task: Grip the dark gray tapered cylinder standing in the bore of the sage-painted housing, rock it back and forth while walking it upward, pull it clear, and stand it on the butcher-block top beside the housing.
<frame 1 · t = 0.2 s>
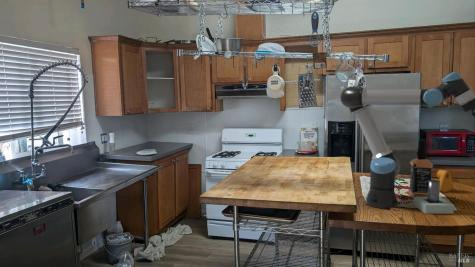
housing: (432, 210, 175), on the table
whiskey bottle: (419, 198, 196), on the table
bracket: (440, 190, 211), on the table
dark gray tapered cylinder: (432, 208, 175), point 1 cm above the table, touching housing
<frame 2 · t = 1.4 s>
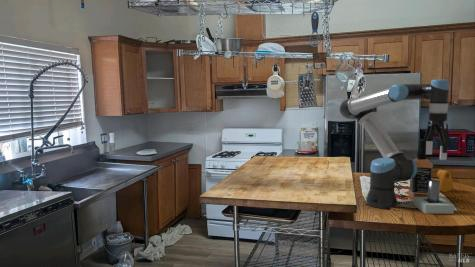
hand: (435, 156, 172), 27 cm above the table, tool pointing down, fingers open, 13 cm apart
nothing on the table moved.
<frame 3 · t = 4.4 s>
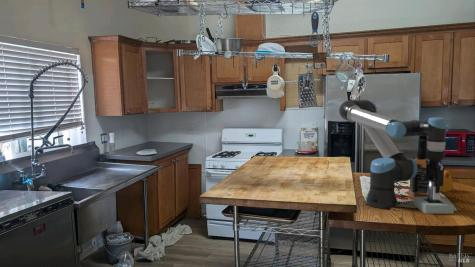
hand: (433, 197, 174), 7 cm above the table, tool pointing down, fingers closed on dark gray tapered cylinder, 5 cm apart
dark gray tapered cylinder: (432, 208, 175), point 1 cm above the table, touching gripper, housing
everything else where it was.
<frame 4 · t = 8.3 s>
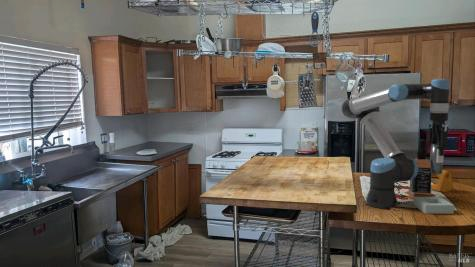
hand: (436, 161, 171), 25 cm above the table, tool pointing down, fingers closed on dark gray tapered cylinder, 5 cm apart
dark gray tapered cylinder: (436, 173, 172), point 19 cm above the table, touching gripper
everything else where it was.
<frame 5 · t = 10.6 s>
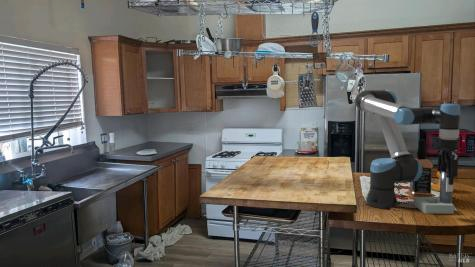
hand: (446, 189, 162), 14 cm above the table, tool pointing down, fingers closed on dark gray tapered cylinder, 5 cm apart
dark gray tapered cylinder: (445, 201, 163), point 8 cm above the table, touching gripper
everything else where it was.
when the fingers open (7 cm above the table, at t = 12.4 s): dark gray tapered cylinder drops 1 cm, on the table.
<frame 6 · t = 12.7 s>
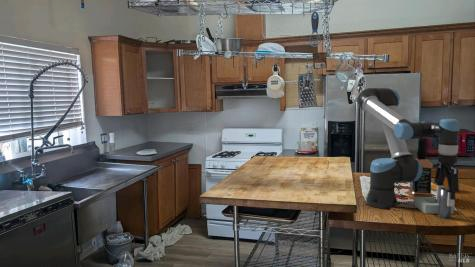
hand: (445, 202, 163), 8 cm above the table, tool pointing down, fingers open, 9 cm apart
dark gray tapered cylinder: (444, 218, 164), on the table
everything else where it was.
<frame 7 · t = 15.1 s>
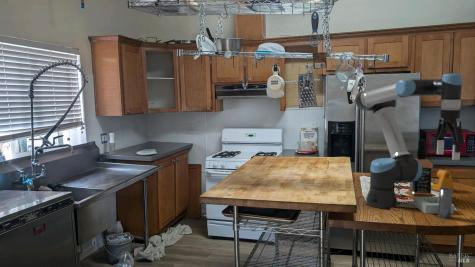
hand: (447, 156, 161), 29 cm above the table, tool pointing down, fingers open, 13 cm apart
nothing on the table moved.
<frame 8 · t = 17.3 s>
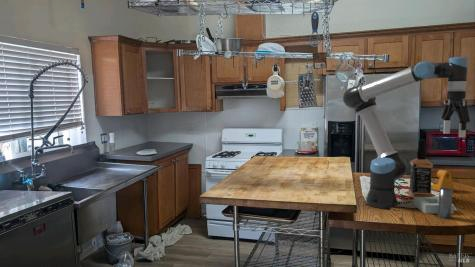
hand: (453, 135, 172), 37 cm above the table, tool pointing down, fingers open, 13 cm apart
nothing on the table moved.
at the end: dark gray tapered cylinder inside the target area (0.0 cm from its centre), on the table; dark gray tapered cylinder tilted 0°; the gripper is holding nothing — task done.
